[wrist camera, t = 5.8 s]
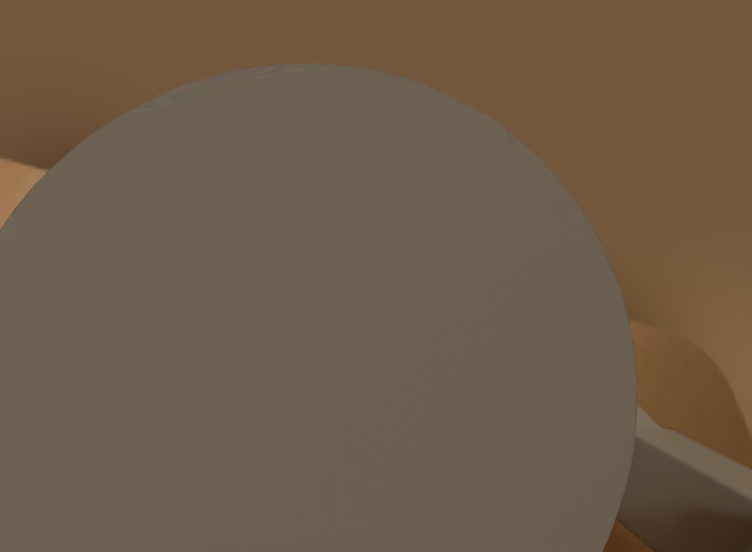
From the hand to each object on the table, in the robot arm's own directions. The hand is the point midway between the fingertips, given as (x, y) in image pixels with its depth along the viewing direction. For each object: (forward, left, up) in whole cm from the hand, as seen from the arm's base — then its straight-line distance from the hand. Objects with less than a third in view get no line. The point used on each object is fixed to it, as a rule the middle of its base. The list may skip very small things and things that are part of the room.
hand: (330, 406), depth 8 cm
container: (0, 0, -9) cm, 9 cm away
